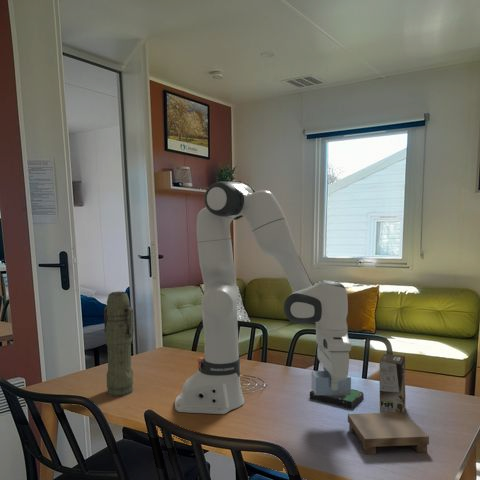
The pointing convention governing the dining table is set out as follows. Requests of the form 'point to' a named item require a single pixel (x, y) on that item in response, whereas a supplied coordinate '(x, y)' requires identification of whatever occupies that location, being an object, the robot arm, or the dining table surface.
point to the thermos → (119, 344)
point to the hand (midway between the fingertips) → (330, 384)
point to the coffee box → (392, 383)
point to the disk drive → (340, 398)
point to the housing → (323, 384)
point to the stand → (387, 431)
